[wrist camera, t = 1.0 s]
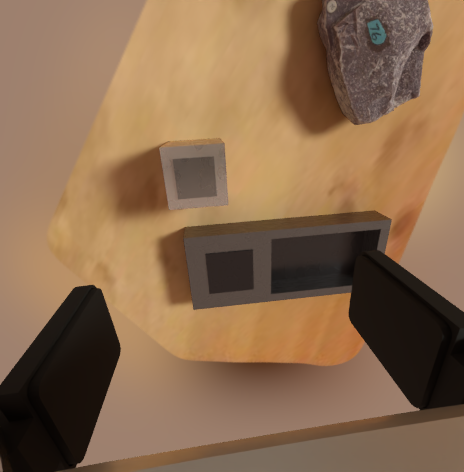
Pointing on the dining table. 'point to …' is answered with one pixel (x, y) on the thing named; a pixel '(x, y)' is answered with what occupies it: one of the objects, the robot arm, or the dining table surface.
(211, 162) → the gray cube
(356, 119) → the rock
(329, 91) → the dining table surface
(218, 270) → the grey tray with recess
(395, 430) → the robot arm
